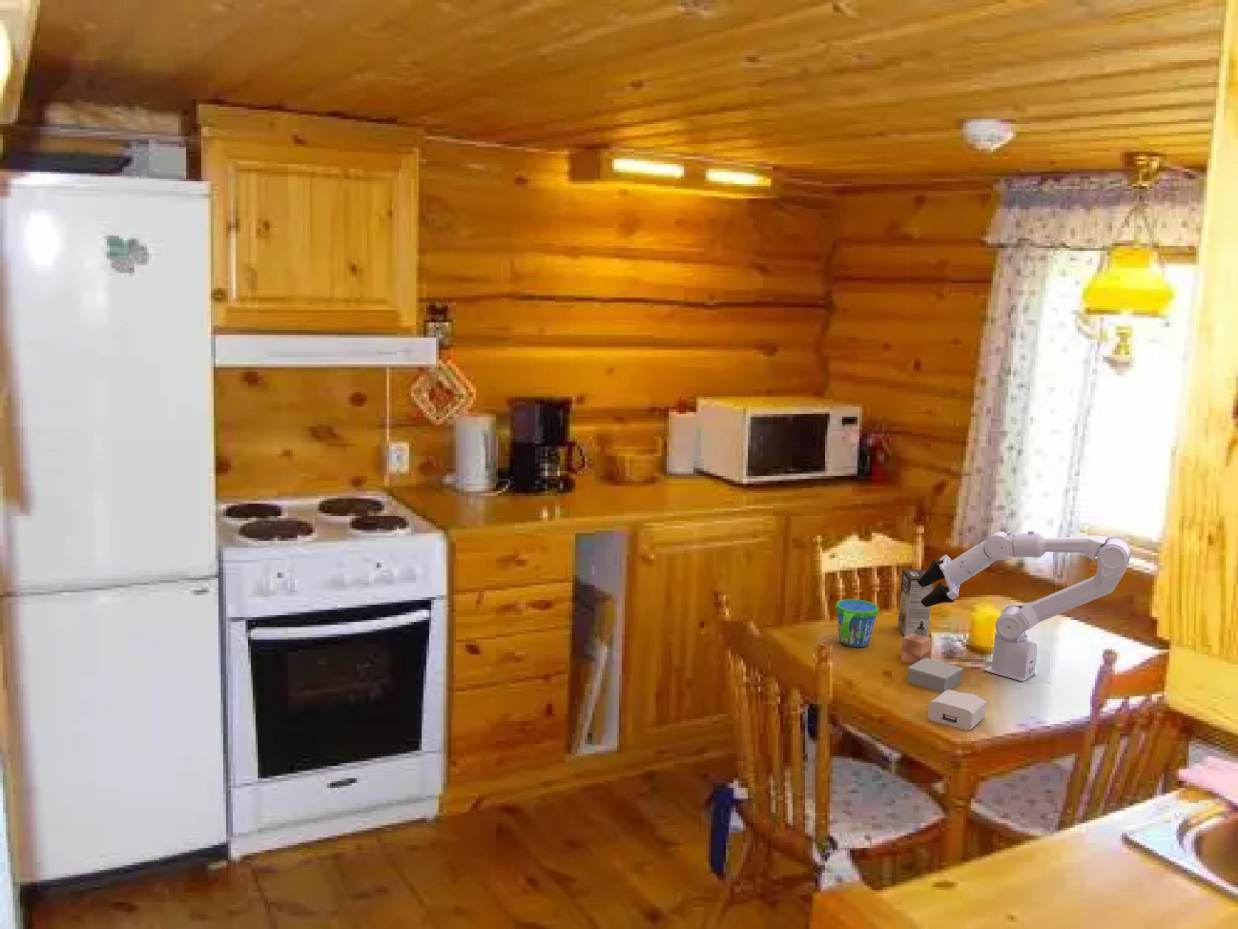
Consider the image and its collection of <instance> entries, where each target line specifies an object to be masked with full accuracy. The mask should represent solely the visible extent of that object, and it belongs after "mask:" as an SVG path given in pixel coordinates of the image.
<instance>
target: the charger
mask: <svg viewBox="0 0 1238 929" xmlns="http://www.w3.org/2000/svg"><path fill="white" fill-rule="evenodd" d="M928 705H929V706H928V716H927V717H928V720H929V721H931V720H932V721H931V722H934V721H935V722H934V723H937V722H938V723H937V724H942V725H945V724H948V725H951V726H950V727H952V726H955V727H958V728H957V729H959V728H963V729H966V730H969V731H971V730H972V729H973V728H974V727H976V725H978V724H979V723H980V722H981V721H982V720H983V719H984V718H985V716H986V707H987V701H986V700H985V699H983V698H982V697H980V696H979V695H976V694H974V693H969V692H960V691H957V690H953V689H950V690H946V691H944V692H943V693H940V694H939V695H938V696H937V697H935V698H934V699H933V700H931V701H930V702H929V704H928ZM948 725H947V726H948ZM955 727H954V728H955ZM966 730H965V731H966Z"/></svg>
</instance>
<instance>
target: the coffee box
mask: <svg viewBox="0 0 1238 929" xmlns="http://www.w3.org/2000/svg"><path fill="white" fill-rule="evenodd" d="M926 571H927V570H926V569H911V568H910V569H909V568H908V569H905V568H902V573H901V574H902V576H901V587H900V598H899V606H898V607H899V608H898V619H897V627H898V628H899V631H901V633H902V634H903V636H904V637H906V636H908V635H910V634H912V633H914V634H917V635H921V636H925V637H928V638H929V629H930V628H929V627H930V617H931V607H932V606H929V607H925V606H924V605H923V604H922V603H921V600H922V599H923V598H924V597H925V596H927V595H928V594H930V593H931V592H932V591H933V590H934V588H933V587H934V583H932V584H930V585H928V586H926V587H922V586H920V585H919V584H918V582H917V581H918V580H919V579H920V578H921V577H922V576H923V575H924V574H925V572H926Z"/></svg>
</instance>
